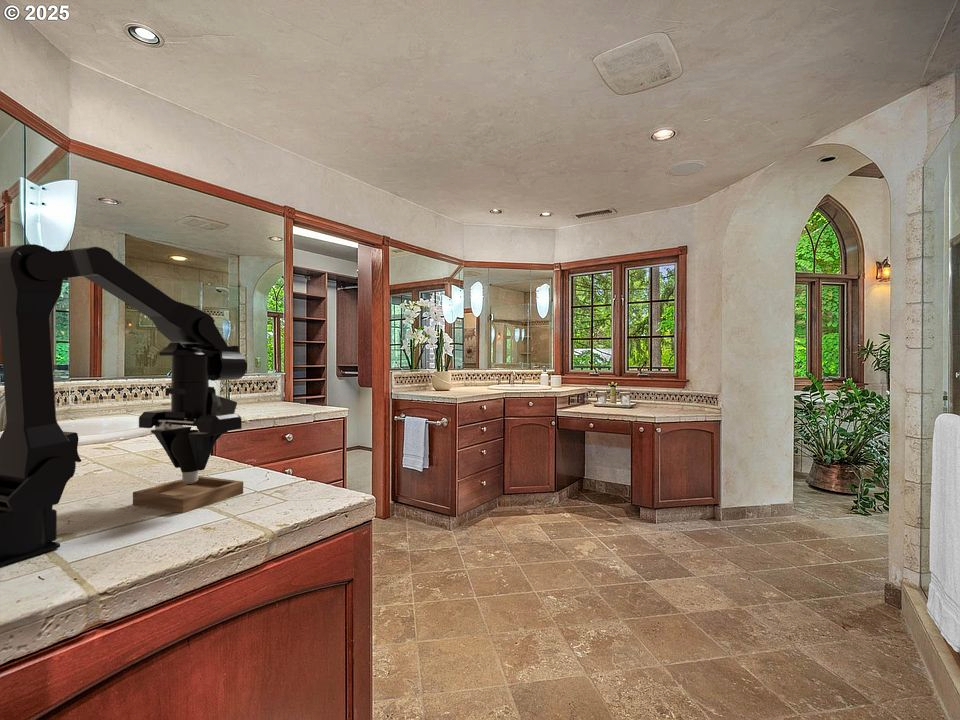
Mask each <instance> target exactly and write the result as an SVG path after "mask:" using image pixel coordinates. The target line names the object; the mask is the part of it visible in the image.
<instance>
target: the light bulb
mask: <svg viewBox="0 0 960 720" xmlns="http://www.w3.org/2000/svg"><path fill="white" fill-rule="evenodd" d="M195 432H198V429H190V430H186V431H183V432H181V433H179V434H178V435H177V436H176V437H175V438H174V439H173V441H172V444H171V452H172V454H173V456H174V457H175V458H176V459H177V461H178V462H179V465H180V467H179V469H180V471H181V474H182V478H181V480H182V479H183V480H182V481H183V483H185V484H187V485H188V486H191V485H193V484H194V483H195V482H197V480H198V476H199V470H198V469H197V466H196V463H195V460H194V456H193V452H192V448H191V444H190V440H189V436H188V434H189V433H195Z"/></svg>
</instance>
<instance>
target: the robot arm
mask: <svg viewBox="0 0 960 720" xmlns="http://www.w3.org/2000/svg"><path fill="white" fill-rule="evenodd" d="M77 277H84V278H85V279H87V280H89V281H90V282H92V283H94V284H95V285H96V286H97V287H100V288H101V289H103V290H104V291H106V292H108V293H110V294H111V295H112V296H114V297H115V298H117V299H119V300H120V301H122V302H124V303H126V304H127V305H129V306H130V307H131V308H133V309H134V310H136V311H138V312H139V313H141V314H143V315H144V316H146V317H147V318H148V319H149V320H151V321H152V323H153V324H154V327H156V330H157V331H158V332H160V333H161V334H162V335H163V336H164V337H165V338H167V340H168V341H170V342H169V344H168V345H167V346H166V347H164V348H162V349H161V350H160V351H159V353H158V355H159V356H160V357H171V371H170V372H171V373H170V374H171V375H170V376H171V378H170V379H171V380H170V381H171V384H170V385H171V386H170V387H165V388H164V389H165V391H164V393H165V395H167V394H168V395H169V394H170V396H171V397H170V399H171V400H170V401H171V402H170V407H171V409H159V410H158V409H157V410H150V411H144V412H142V413H141V414H140V415H139V417H138V428H141V429H151V430H150V433H151V434H153V435H154V436H155V438H156V439H157V440H158V442H159V444H160V445H161V446H162V447H163V450H164V451H165V453H166V454H167V457H168V458H169V460H170V461H171V463H172V465H173V467H174V468H175V469H180V465H179V462H178V461H177V459H176V458H175V457H174V456H173V454H172V452H171V444H172V441H173V439H174V438H175V437H176V436H177V435H178V434H179V433H181V432H183V431H186V430H192V428H193V427H196V428H197V429H196V430H198V432H195V433H189V434H188V436H189V440H190V444H191V448H192V452H193V456H194V460H195V463H196V466H197V469H198V470H199V471H204V470H205V469H206V467H207V464H208V461H209V458H210V457H211V453H212V451H213V448H214V447H215V445H216V442H217V441H218V439H219V438H221V437H222V435H223V434H227V433H229V432H230V431H235V430H242V426H243V425H242V422H243V421H242V419H243V418H242V417H241V415H239V413H236V408H237V405H238V402H237V401H234V400H232V399H229V398H226V397H223V396H219V395H217V394H216V388H215V386H209V384H210V382H209V381H211V382H212V381H232V380H233V381H234V380H240V379H242V378H243V377H244V376H245V375H246V373H247V370H248V362H247V360H246V358H245V355H244V354H243V353H242V352H240V347H239V345H228V344H227V343H226V340H225V339H224V338H223V336H222V334H221V332H220V331H219V329H218V328H217V326H216V324H215V323H216V322H215V318H214V317H213V316H212V315H211V314H209V313H208V312H206V311H204V310H202V309H200V308H198V307H195V306H193V305H190V304H187V303H184V302H180V301H178V300H176V299H174V298H172V297H171V296H169V295H168V294H167V293H165V292H164V291H163V290H161V289H160V288H158V287H156V286H155V285H154V284H152V283H151V282H149V281H148V280H147V279H145V278H144V277H142V276H141V275H139V274H138V273H137V272H135V271H134V270H133V269H131V268H129V267H128V266H126V265H125V264H123V263H122V262H121V261H119V260H118V259H116V258H115V257H114V255H113V254H112V253H111V252H110V251H109V250H107V249H105V248H103V247H100V246H90V247H89V246H88V247H78V248H74V249H68V250H66V249H65V250H53V251H52V250H50V249H49V248H47V247H45V246H43V245H39V244H34V243H33V244H31V243H30V244H29V243H27V244H17V245H8V246H0V343H1V358H2V359H1V361H2V374H3V375H2V376H3V386H4V387H3V390H4V401H5V403H4V404H5V405H4V406H5V417H6V424H5V427H4V430H3V432H2V434H1V436H0V567H2V566H6V565H8V564H12V563H15V562H18V561H22V560H23V559H28V558H30V557H34V556H37V555H40V554H43V553H47V552H49V551H52V550H55V549H59V548H60V547H61V542H56V540H57V538H58V537H57V530H58V529H57V526H58V525H57V522H58V520H57V519H58V518H57V517H58V514H57V510H56V509H54V508H53V507H54V506H55V505H58V504H59V503H60V501H61V499H62V495H63V493H64V491H65V488H66V485H67V483H68V482H69V480H71V479H72V478H73V477H74V476H75V473H76V468H77V467H76V466H77V464H76V463H81V462H82V459H81V457H80V455H79V452H78V451H79V450H78V445H79V435H78V433H77V432H73V431H64V430H63V429H62V428H61V426H60V425H59V423H58V421H57V413H56V411H57V410H56V394H55V392H56V391H55V380H54V376H55V375H54V363H53V349H52V348H53V345H52V344H53V343H52V331H51V328H52V327H51V314H52V312H53V310H54V308H55V306H56V304H57V303H58V301H59V299H60V297H61V295H62V289H63V282H64V279H68V278H69V279H70V278H77ZM153 427H154V429H152V428H153ZM199 471H198V472H199Z"/></svg>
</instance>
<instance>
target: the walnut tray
mask: <svg viewBox="0 0 960 720" xmlns="http://www.w3.org/2000/svg"><path fill="white" fill-rule="evenodd" d="M182 480H183V479H182V478H181V479H179V480H174V481H172V482H171V481H170V482H166V483H163V484H159V485H155V486H151V487H147V488H143V489H139V490H136V491H132V506H138V507H142V508H143V507H144V508H150V509H155V510H156V509H157V510H162V511H169V512H175V513H180V514H184V513H188V512H190V511H193V510H196V509H199V508H203V507H206V506H209V505H212V504H214V503H218V502H221V501H225V500H226V499H230V498H233V497H235V496H236V497H237V496H238V495H242V494H244V481H242V480H235V479H227V478H218V477H209V476H200V475H198V480H197V482H195V483H194V484H193V485H191V486H188V485H187V484H185V483H183V481H182Z"/></svg>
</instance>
